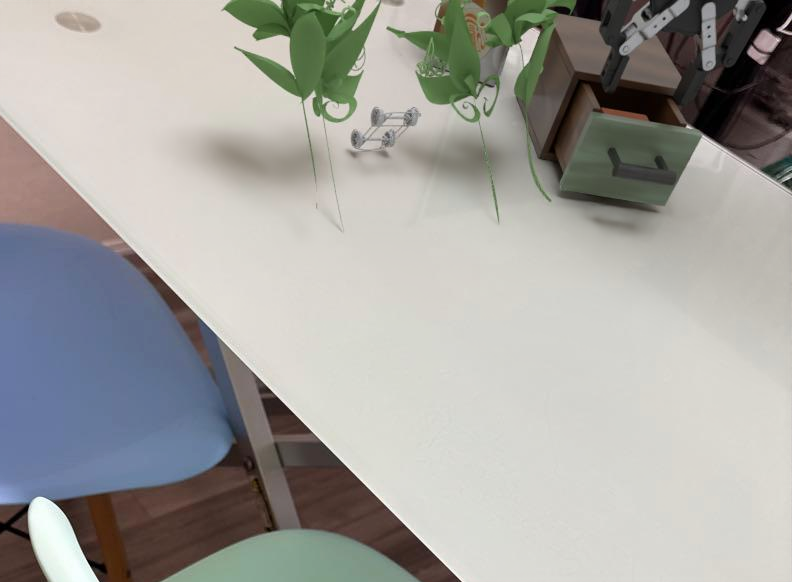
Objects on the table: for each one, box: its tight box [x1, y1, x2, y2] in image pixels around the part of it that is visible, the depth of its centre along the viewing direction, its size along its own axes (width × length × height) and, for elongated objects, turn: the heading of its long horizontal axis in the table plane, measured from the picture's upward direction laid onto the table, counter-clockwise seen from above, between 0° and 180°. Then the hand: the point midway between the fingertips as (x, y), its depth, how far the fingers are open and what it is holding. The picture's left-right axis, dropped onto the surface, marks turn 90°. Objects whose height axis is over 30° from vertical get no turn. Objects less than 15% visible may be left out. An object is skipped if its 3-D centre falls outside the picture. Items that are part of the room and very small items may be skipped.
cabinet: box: [515, 13, 683, 163], centre depth 108 cm, size 15×13×10 cm
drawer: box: [552, 79, 703, 207], centre depth 102 cm, size 18×11×8 cm, turn 0°
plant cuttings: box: [220, 0, 577, 231], centre depth 93 cm, size 35×17×22 cm
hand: (643, 95), depth 98 cm, fingers open, 7 cm apart
